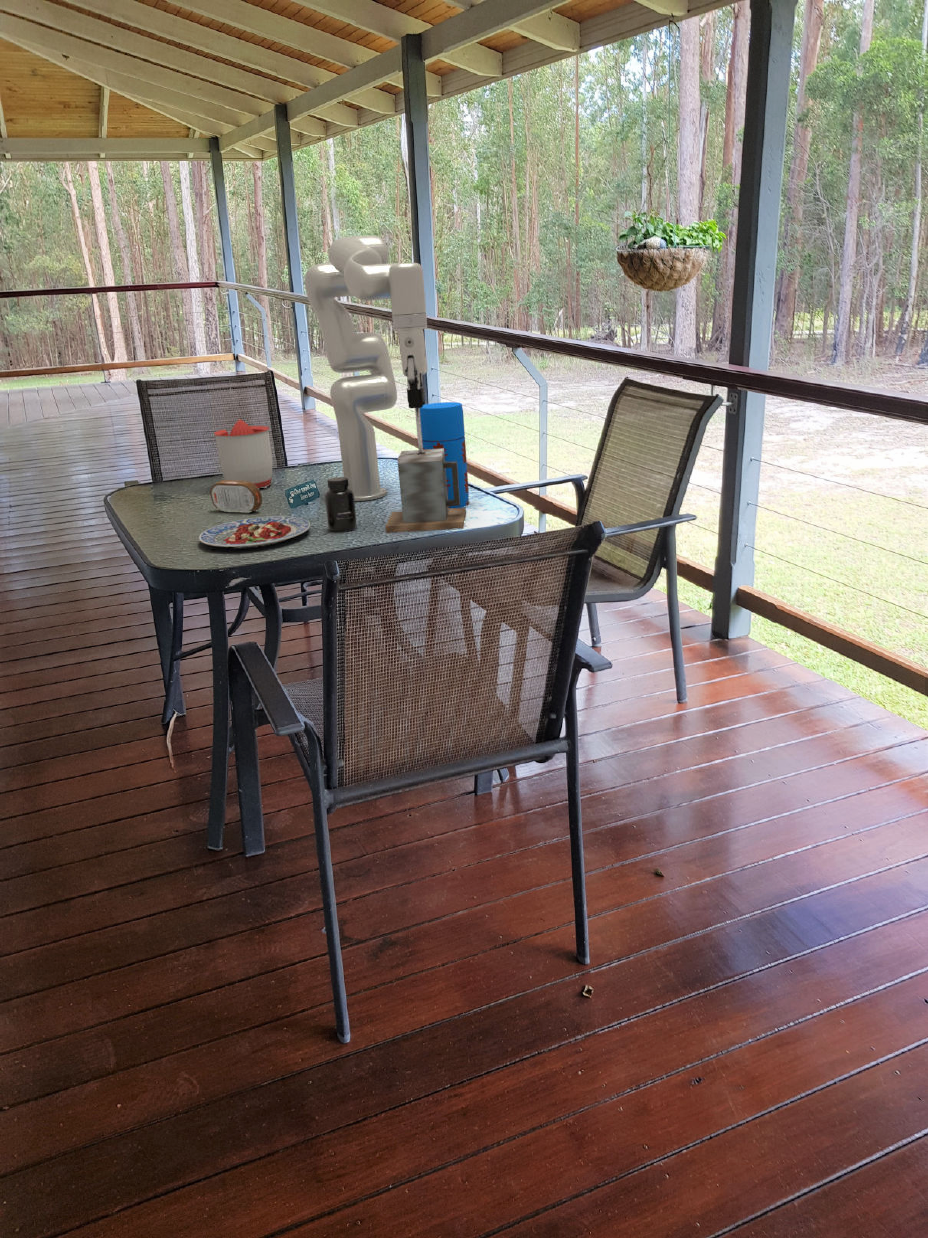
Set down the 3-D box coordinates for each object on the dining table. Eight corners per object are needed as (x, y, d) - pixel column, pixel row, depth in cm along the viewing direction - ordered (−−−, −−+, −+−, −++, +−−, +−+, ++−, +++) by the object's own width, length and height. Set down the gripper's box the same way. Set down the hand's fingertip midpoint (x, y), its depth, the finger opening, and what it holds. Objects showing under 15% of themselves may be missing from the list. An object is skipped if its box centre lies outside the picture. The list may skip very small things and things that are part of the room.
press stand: (385, 532, 223) (378, 461, 217) (392, 517, 236) (386, 450, 230) (463, 528, 221) (458, 456, 216) (466, 513, 234) (461, 445, 229)
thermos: (464, 509, 238) (457, 407, 230) (422, 510, 240) (413, 409, 232) (472, 499, 248) (466, 401, 240) (432, 500, 250) (424, 403, 242)
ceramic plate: (222, 527, 240) (220, 515, 239) (322, 522, 237) (321, 510, 236) (183, 556, 216) (181, 544, 215) (295, 552, 213) (293, 539, 212)
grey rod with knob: (413, 479, 223) (405, 389, 216) (415, 476, 227) (407, 387, 220) (431, 478, 223) (423, 388, 216) (432, 475, 227) (425, 386, 220)
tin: (264, 512, 252) (260, 480, 249) (257, 515, 249) (252, 482, 246) (218, 509, 258) (213, 478, 255) (211, 512, 255) (206, 481, 253)
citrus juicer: (264, 479, 294) (254, 412, 287) (284, 487, 280) (275, 418, 273) (214, 487, 286) (203, 420, 280) (232, 497, 272) (221, 425, 265)
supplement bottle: (345, 533, 224) (339, 482, 220) (322, 531, 228) (316, 481, 224) (363, 526, 230) (357, 476, 226) (340, 524, 233) (335, 475, 229)
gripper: (423, 323, 205) (430, 410, 211) (429, 319, 221) (436, 400, 227) (388, 325, 205) (396, 412, 212) (397, 321, 221) (404, 402, 227)
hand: (416, 405), depth 219 cm, fingers closed on grey rod with knob, 4 cm apart
